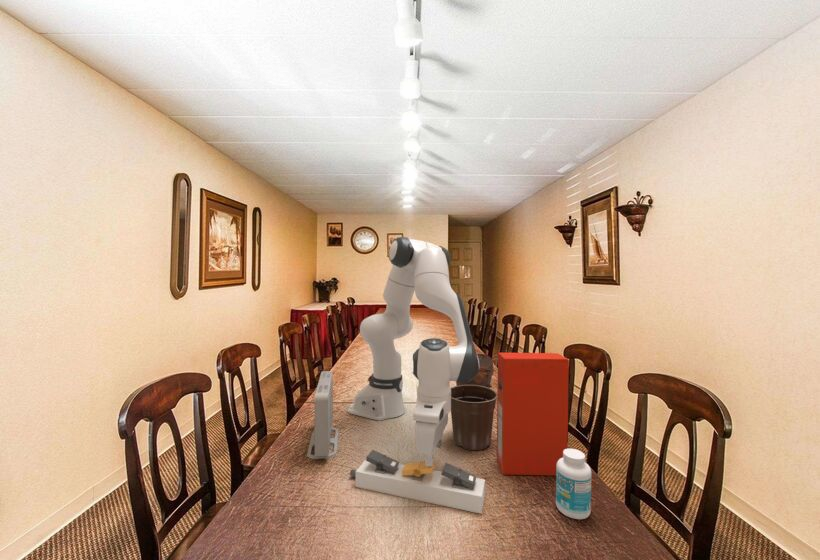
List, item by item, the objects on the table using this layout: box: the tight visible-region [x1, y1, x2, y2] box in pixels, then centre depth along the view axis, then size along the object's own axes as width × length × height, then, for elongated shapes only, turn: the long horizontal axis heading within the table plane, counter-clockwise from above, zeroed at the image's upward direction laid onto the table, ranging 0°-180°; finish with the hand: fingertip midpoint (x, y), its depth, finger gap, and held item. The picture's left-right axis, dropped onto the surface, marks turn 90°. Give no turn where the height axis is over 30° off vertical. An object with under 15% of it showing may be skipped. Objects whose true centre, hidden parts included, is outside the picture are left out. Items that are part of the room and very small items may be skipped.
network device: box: [306, 370, 340, 460], centre depth 113 cm, size 26×9×20 cm, turn 9°
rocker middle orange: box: [402, 460, 437, 477], centre depth 89 cm, size 8×4×2 cm, turn 72°
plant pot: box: [450, 385, 497, 451], centre depth 115 cm, size 16×16×16 cm
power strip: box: [349, 459, 486, 515], centre depth 89 cm, size 35×7×4 cm, turn 72°
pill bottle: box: [555, 448, 593, 520], centre depth 82 cm, size 8×7×14 cm
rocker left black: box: [365, 449, 400, 474], centre depth 92 cm, size 8×4×2 cm, turn 73°
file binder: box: [496, 352, 570, 476], centre depth 99 cm, size 8×17×32 cm, turn 89°
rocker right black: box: [441, 462, 477, 489], centre depth 86 cm, size 8×4×2 cm, turn 73°
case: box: [455, 353, 494, 389], centre depth 154 cm, size 18×20×18 cm
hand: (433, 455), depth 92 cm, fingers open, 8 cm apart
